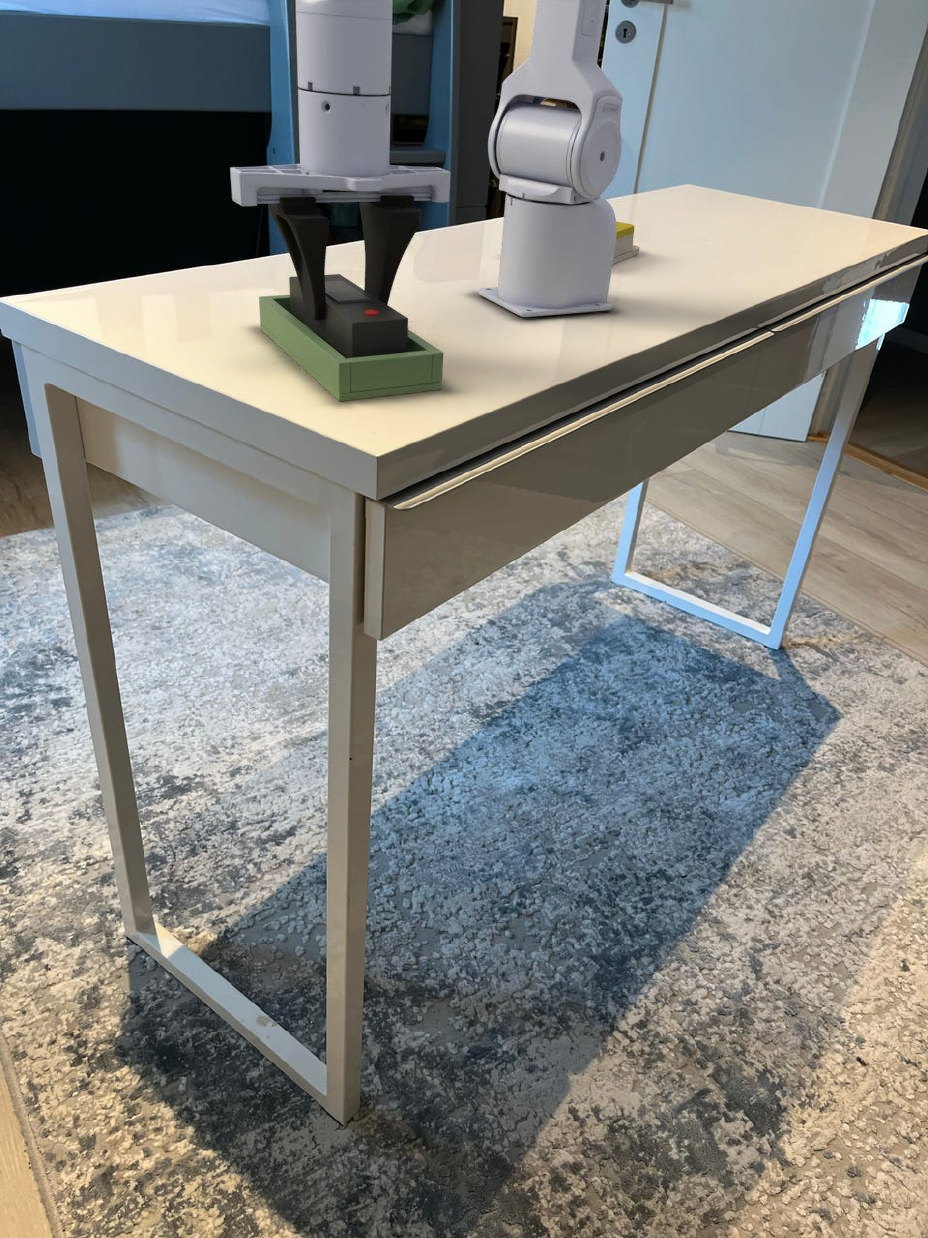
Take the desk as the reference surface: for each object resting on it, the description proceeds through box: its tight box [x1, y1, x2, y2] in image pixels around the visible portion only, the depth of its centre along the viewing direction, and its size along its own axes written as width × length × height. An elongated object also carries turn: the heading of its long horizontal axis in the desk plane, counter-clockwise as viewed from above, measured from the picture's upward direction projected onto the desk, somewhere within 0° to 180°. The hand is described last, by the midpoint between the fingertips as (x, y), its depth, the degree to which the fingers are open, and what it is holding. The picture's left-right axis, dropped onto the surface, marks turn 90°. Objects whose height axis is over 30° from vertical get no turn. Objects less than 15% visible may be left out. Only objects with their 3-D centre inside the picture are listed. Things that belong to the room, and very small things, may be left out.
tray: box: [258, 294, 444, 402], centre depth 66 cm, size 7×16×2 cm, turn 28°
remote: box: [288, 273, 409, 358], centre depth 65 cm, size 12×4×3 cm, turn 28°
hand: (345, 313), depth 65 cm, fingers closed on remote, 4 cm apart
